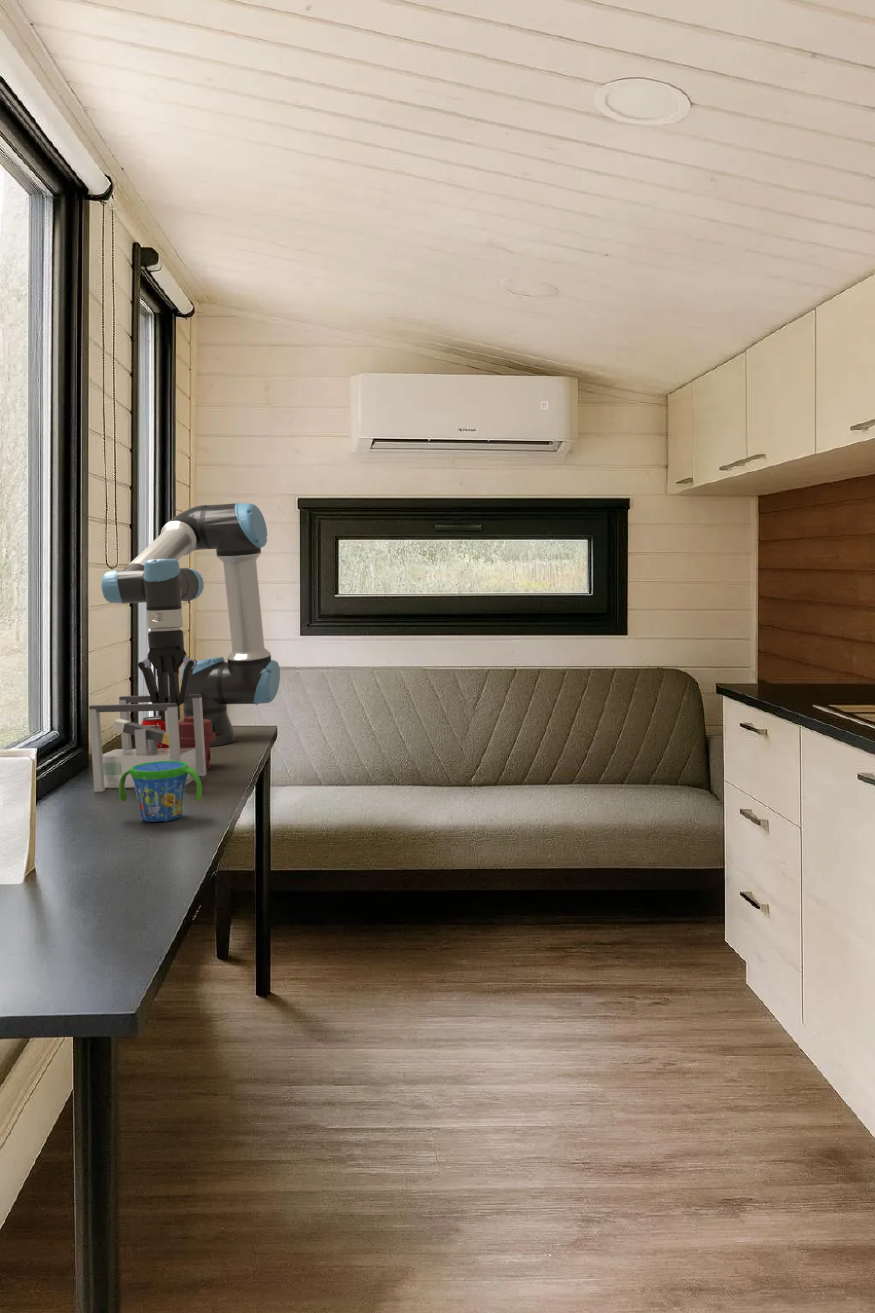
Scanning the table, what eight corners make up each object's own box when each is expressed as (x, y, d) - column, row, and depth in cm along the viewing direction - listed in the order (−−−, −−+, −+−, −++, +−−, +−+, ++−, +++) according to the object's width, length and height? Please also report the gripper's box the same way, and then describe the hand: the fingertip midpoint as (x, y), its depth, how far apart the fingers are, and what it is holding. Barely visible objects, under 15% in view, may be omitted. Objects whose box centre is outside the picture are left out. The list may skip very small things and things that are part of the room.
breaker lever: (118, 727, 222) (119, 718, 221) (176, 743, 220) (178, 734, 220) (112, 729, 219) (114, 720, 219) (171, 745, 218) (173, 736, 217)
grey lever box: (117, 779, 226) (113, 725, 225) (197, 778, 224) (193, 723, 223) (98, 788, 217) (95, 732, 216) (182, 787, 215) (178, 730, 214)
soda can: (157, 769, 236) (154, 720, 235) (137, 768, 238) (134, 719, 237) (175, 764, 241) (172, 716, 240) (155, 763, 244) (152, 715, 243)
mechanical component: (183, 764, 241) (222, 763, 240) (168, 773, 231) (209, 772, 230) (180, 714, 240) (219, 713, 239) (164, 721, 230) (206, 719, 229)
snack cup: (212, 812, 191) (209, 760, 190) (188, 826, 180) (184, 771, 179) (138, 811, 194) (134, 760, 193) (110, 825, 183) (106, 771, 183)
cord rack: (127, 776, 230) (121, 696, 228) (206, 774, 227) (201, 694, 226) (94, 792, 213) (88, 706, 212) (179, 790, 211) (174, 704, 209)
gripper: (129, 631, 214) (136, 739, 216) (187, 629, 212) (194, 738, 214) (143, 629, 221) (150, 733, 223) (200, 627, 220) (206, 732, 222)
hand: (171, 735), depth 219 cm, fingers closed
